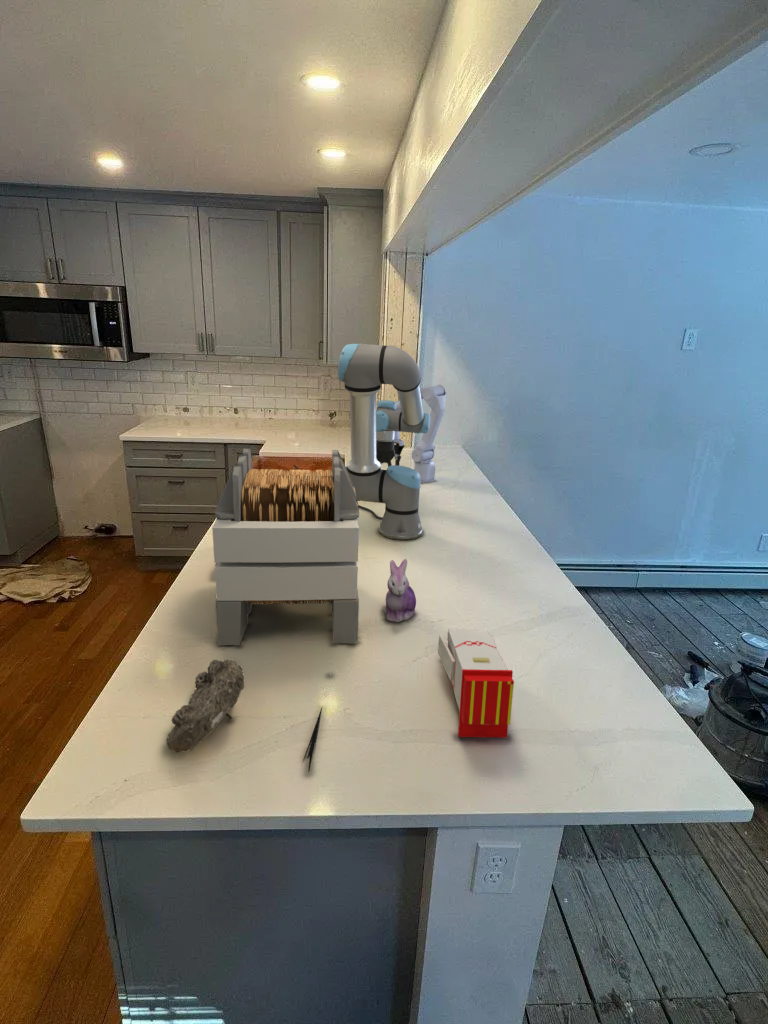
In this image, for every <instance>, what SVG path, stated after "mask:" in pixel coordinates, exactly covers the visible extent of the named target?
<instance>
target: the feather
mask: <svg viewBox="0 0 768 1024" xmlns="http://www.w3.org/2000/svg"><path fill="white" fill-rule="evenodd" d="M329 675H330V676H331V675H332V674H331V673H330V674H329ZM322 710H323V707H321V708H320V710H319V713H318V716H317V719H316V723H315V725H314V728H313V731H312V733H311V737H310V739H309V742H308V745H307V748H306V751H305V754H304V757H303V760H302V763H301V767H302V765H303V763H304V761H305V758H308V759H309V760H308V762H307V763H308V764H307V766H308V771H310V770H311V766H312V765H311V764H312V760H313V757H315V756H314V755H315V751H316V749H315V746H317V739H318V733H319V729H320V722H321V717H322V712H323V711H322ZM313 754H314V755H313ZM306 755H307V757H306Z"/></svg>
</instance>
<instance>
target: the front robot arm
mask: <svg viewBox="0 0 768 1024" xmlns="http://www.w3.org/2000/svg"><path fill="white" fill-rule="evenodd" d="M421 373H422V372H421V368H420V367H419V365H418V363H417V362H416V360H415V359H414V358H413V357H412V356H411V354H409V353H408V352H407V351H405V349H401V348H400V347H397V346H396V345H395V346H394V345H385V344H383V345H381V344H369V343H359V342H358V343H347V344H345V346H344V347H343V348H342V350H341V352H340V356H339V359H338V366H337V378H338V380H339V381H340V382H341V383H344V390H345V391H347V393H349V417H350V418H349V421H350V423H349V426H350V457H351V458H350V460H349V461H348V462H347V464H346V465H345V467H346V469H347V471H348V473H349V475H350V478H351V480H352V482H353V484H354V486H355V492H356V497H357V501H358V502H369V503H378V504H384V505H385V507H384V508H385V509H384V513H383V515H382V516H378V515H377V514H376V513H375V511H373V510H372V509H370V508H368V507H365V506H362V505H360V504H358V507H359V509H362V510H364V511H367V512H369V513H370V514H372V516H374V518H375V519H378V520H381V522H379V525H378V533H379V534H380V535H381V536H382V537H385V538H387V539H389V540H395V541H410V540H415V539H418V538H420V537H421V536H422V535H423V525H422V521H421V518H420V515H419V507H420V506H419V505H420V504H419V503H420V490H421V483H420V475H419V473H418V472H417V471H415V470H414V468H412V467H409V466H404V465H400V463H401V459H402V455H401V454H400V455H399V454H398V455H397V454H395V452H394V445H395V443H394V441H393V440H394V439H395V431H399V432H400V433H412V434H418V435H419V434H424V433H428V431H429V428H430V413H426V412H424V408H423V402H422V399H421V394H420V389H421V388H420V385H421V383H422V374H421ZM382 385H389V386H392V387H393V388H394V389H395V390H396V393H397V397H398V401H399V402H400V406H401V410H402V411H397V410H396V403H395V401H394V400H387V399H386V400H385V399H384V400H383V399H382V400H378V401H377V393H378V392H379V391H380V390H381V389H382ZM393 459H394V460H395V461H394V462H395V463H394V465H392V460H393ZM382 464H387V468H386V469H382ZM293 467H294V468H295V470H301V469H300V468H299V467H298V466H297V465H296V464H293Z"/></svg>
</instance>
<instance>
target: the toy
mask: <svg viewBox="0 0 768 1024" xmlns="http://www.w3.org/2000/svg"><path fill="white" fill-rule="evenodd" d="M446 640H447V643H446V641H445V639H444V636H443V635H442V634H439V637H438V646H437V656H438V657H439V659H440V661H441V663H442V666H443V668H444V670H445V672H446V674H447V677H448V679H449V681H450V684H451V687H452V690H453V693H454V697H455V701H456V705H457V708H458V711H459V714H458V715H459V716H458V730H457V731H458V732H457V737H458V738H508V731H509V726H510V725H511V717H512V707H513V697H514V696H513V695H514V684H515V680H514V679H513V673H514V671H513V670H512V669H508V667H507V665H506V662H505V661H504V659H503V658H502V655H501V653H500V651H499V649H498V647H497V643H496V639H495V637H494V635H493V634H491V632H490V631H489V629H467V628H466V629H465V628H463V629H461V628H460V629H459V628H448V630H447V639H446Z"/></svg>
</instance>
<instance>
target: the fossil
mask: <svg viewBox="0 0 768 1024" xmlns="http://www.w3.org/2000/svg"><path fill="white" fill-rule="evenodd" d="M243 670H244V669H243V667H242V665H240V664H237V662H236V661H235V660H234V659H232V658H231V659H227V658H226V659H224V660H223V661H222V660H217V659H212V660H211V661H210V663H209V665H208V666H207V671H201V672H199V673H198V674H197V675H196V676H195V680H194V684H195V685H194V687H195V689H194V690H193V693H192V694H191V697H190V698H189V700H188V704H184V705H182V706H181V707H180V709H177V710H176V711H175V713H174V715H173V716H172V718H171V723H172V724H173V727H172V730H171V731H170V732H168V734H167V738H166V741H167V742H166V745H167V749H168V750H169V751H173V752H174V753H176V754H178V753H182V752H188V751H189V752H192V751H193V750H195V748H196V747H197V746H199V744H200V743H201V742H203V741H204V740H205V739H206V738H207V737H208V736H209V735H210V734H211V733H212V732H214V730H215V729H217V727H218V726H219V724H220V722H221V721H222V720H223V719H224V718H225V716H226V717H227V719H229V720H233V717H232V715H230V714H229V710H230V709H231V708H234V706H235V704H236V703H237V702H238V699H239V697H240V695H241V693H242V691H243V690H245V689H244V688H245V675H244V671H243Z"/></svg>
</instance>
